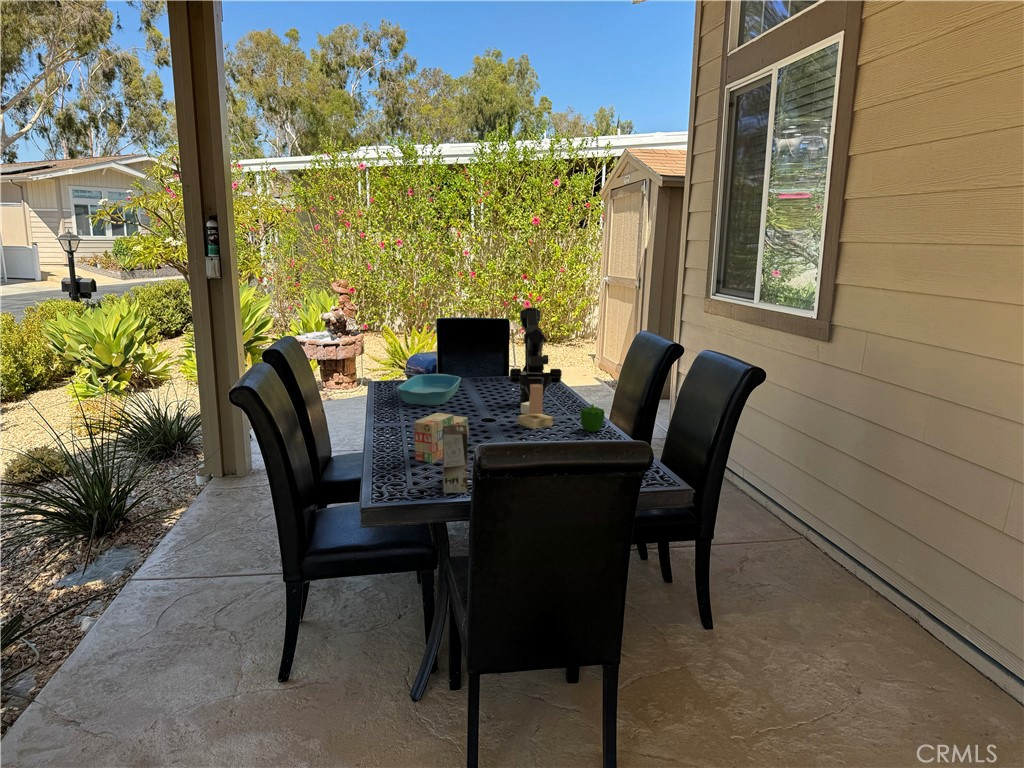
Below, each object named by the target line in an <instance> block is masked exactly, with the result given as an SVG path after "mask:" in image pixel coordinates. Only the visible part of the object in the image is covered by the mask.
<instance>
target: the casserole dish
mask: <svg viewBox="0 0 1024 768" xmlns="http://www.w3.org/2000/svg"><path fill="white" fill-rule="evenodd" d="M461 379H462V377H460V376H457V375H451V374H447V373H446V374H445V373H429V374H428V373H427V374H425V373H424V374H416V375H414V376H411V377H410V378H409V379H408V378H407V379H406V380H405V381H404V382H403V383H401V384H399V386H397V389H398V393H399V395H400V397H401V400H402V401H403V402H404V403H406V404H407V403H408V404H407V405H414V404H420V405H419V406H422V405H423V406H440V404H441V405H444V404H446V403H447V402H448V401H449V400H450V399H451V398H452V397H453V396H454V395H455V394H456V393H457V391H458V389H459V386H460V384H461Z"/></svg>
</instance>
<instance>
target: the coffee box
mask: <svg viewBox="0 0 1024 768" xmlns="http://www.w3.org/2000/svg"><path fill="white" fill-rule="evenodd" d="M467 436H468V433H467V428H466V425H451V426H443V458H442V464H443V465H442V469H443V470H442V472H443V473H442V477H443V478H442V479H443V493H444V494H448V493H449V494H451V493H453V494H454V493H455V494H456V493H458V494H461V493H463V494H464V493H468V445H467Z"/></svg>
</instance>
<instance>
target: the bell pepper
mask: <svg viewBox="0 0 1024 768" xmlns="http://www.w3.org/2000/svg"><path fill="white" fill-rule="evenodd" d="M605 414H606V412H605V410H604V408H600V407H599V406H595V405H594V403H591V404H590V407H589V406H585V407H584V408H581V410H580V422H581V427H582V429H583V430H585V431H587V432H591V433H593V432H595V433H597V432H598V431H599V430H601V428H602V427H603V423H604V419H605Z"/></svg>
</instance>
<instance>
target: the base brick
mask: <svg viewBox="0 0 1024 768" xmlns="http://www.w3.org/2000/svg"><path fill="white" fill-rule="evenodd" d="M517 417H518V418H517V424H518V425H519V424H520V425H519V426H522V425H523V427H525V426H526V427H525V428H528V427H529V428H528V429H531V428H532V429H531V430H537V429H536V428H539V429H543V428H542V427H544V428H548V426H549V427H553V426H554V416H550V415H547V414H544V413H542V414H520V415H518V416H517ZM552 425H553V426H552Z"/></svg>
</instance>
